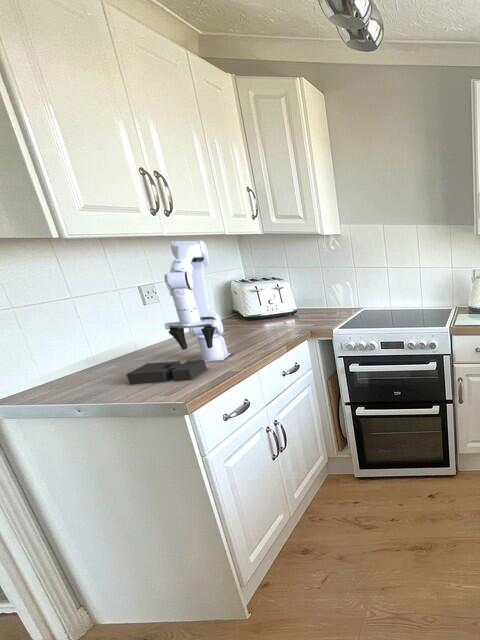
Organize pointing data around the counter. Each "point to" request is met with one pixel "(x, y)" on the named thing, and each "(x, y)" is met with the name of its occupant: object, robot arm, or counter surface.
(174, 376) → the tab pad
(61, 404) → the counter surface
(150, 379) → the notch pad
